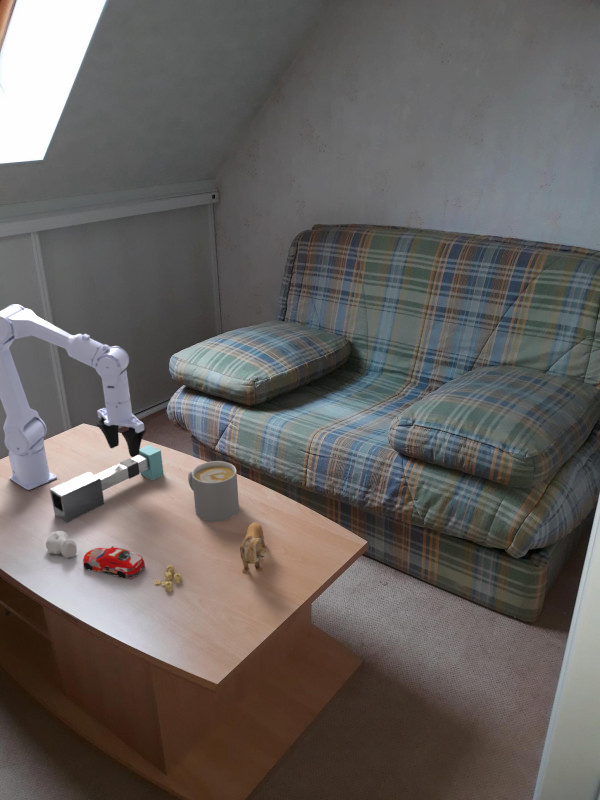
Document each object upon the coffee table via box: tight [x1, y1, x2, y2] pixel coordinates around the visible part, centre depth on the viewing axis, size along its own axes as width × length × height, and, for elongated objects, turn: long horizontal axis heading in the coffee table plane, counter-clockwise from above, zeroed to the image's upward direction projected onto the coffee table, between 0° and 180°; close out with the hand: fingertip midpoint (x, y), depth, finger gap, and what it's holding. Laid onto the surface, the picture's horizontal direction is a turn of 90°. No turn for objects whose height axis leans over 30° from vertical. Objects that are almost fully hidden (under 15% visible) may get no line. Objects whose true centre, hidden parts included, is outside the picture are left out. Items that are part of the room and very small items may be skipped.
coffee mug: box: [187, 460, 240, 523], centre depth 151 cm, size 13×10×10 cm
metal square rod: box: [95, 454, 150, 492], centre depth 158 cm, size 3×20×3 cm, turn 139°
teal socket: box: [139, 444, 164, 481], centre depth 165 cm, size 5×4×7 cm
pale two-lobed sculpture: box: [45, 530, 78, 559], centre depth 137 cm, size 4×8×5 cm
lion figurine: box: [239, 522, 269, 574], centre depth 132 cm, size 15×5×9 cm, turn 6°
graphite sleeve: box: [49, 471, 105, 524], centre depth 151 cm, size 5×10×7 cm, turn 140°
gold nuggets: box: [154, 564, 183, 593], centre depth 129 cm, size 5×5×2 cm
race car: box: [82, 545, 146, 579], centre depth 132 cm, size 13×5×4 cm, turn 69°
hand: (124, 451), depth 159 cm, fingers open, 7 cm apart
